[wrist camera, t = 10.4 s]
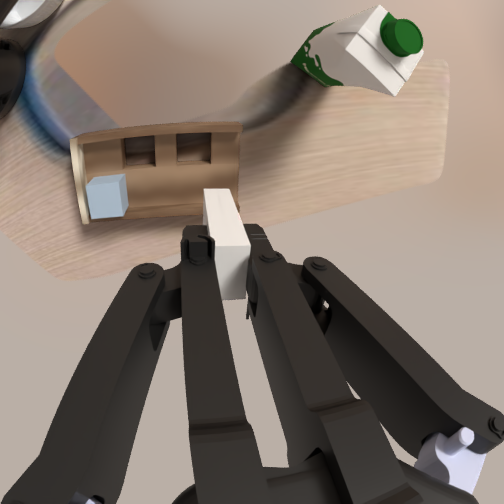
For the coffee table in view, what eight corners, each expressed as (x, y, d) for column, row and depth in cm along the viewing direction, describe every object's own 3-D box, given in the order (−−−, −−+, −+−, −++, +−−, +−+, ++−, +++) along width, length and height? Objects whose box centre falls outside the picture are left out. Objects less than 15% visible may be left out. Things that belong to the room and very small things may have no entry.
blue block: (94, 177, 36) (85, 185, 33) (125, 173, 37) (118, 182, 34) (98, 208, 39) (91, 219, 36) (128, 205, 40) (123, 216, 37)
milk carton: (353, 56, 36) (441, 53, 19) (325, 95, 39) (408, 108, 22) (311, 23, 32) (389, -7, 15) (280, 63, 35) (347, 48, 19)
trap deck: (82, 133, 35) (69, 139, 30) (238, 121, 39) (243, 125, 35) (92, 211, 41) (82, 224, 37) (235, 201, 46) (239, 214, 42)
